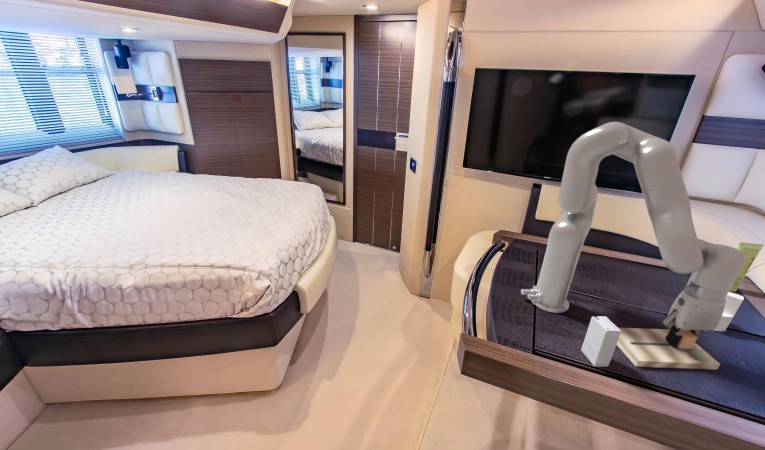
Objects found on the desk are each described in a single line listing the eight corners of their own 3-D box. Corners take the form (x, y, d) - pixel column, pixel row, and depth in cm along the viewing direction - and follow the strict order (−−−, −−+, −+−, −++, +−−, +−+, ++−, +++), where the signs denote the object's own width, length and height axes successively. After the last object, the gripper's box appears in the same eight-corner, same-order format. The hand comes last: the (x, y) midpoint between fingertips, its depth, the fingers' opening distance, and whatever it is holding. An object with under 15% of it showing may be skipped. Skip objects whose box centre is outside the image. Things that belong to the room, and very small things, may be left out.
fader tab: (679, 350, 89) (686, 337, 87) (665, 337, 93) (671, 324, 92) (690, 350, 89) (697, 337, 87) (675, 337, 93) (682, 324, 92)
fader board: (635, 366, 86) (638, 360, 85) (605, 332, 98) (607, 327, 97) (717, 369, 86) (720, 363, 85) (677, 335, 98) (679, 329, 97)
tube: (733, 293, 120) (759, 247, 112) (715, 286, 124) (739, 241, 116) (738, 289, 123) (764, 244, 115) (720, 283, 127) (744, 238, 119)
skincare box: (609, 366, 86) (624, 331, 81) (593, 367, 85) (607, 331, 81) (593, 349, 91) (607, 315, 87) (578, 349, 91) (591, 315, 86)
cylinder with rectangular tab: (686, 321, 104) (703, 291, 99) (689, 309, 110) (704, 280, 105) (725, 336, 98) (744, 304, 93) (725, 323, 104) (743, 292, 99)
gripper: (686, 297, 80) (658, 352, 88) (751, 300, 80) (718, 355, 88) (663, 281, 87) (639, 333, 95) (723, 283, 87) (694, 335, 95)
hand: (677, 343), depth 91 cm, fingers closed on fader tab, 3 cm apart
